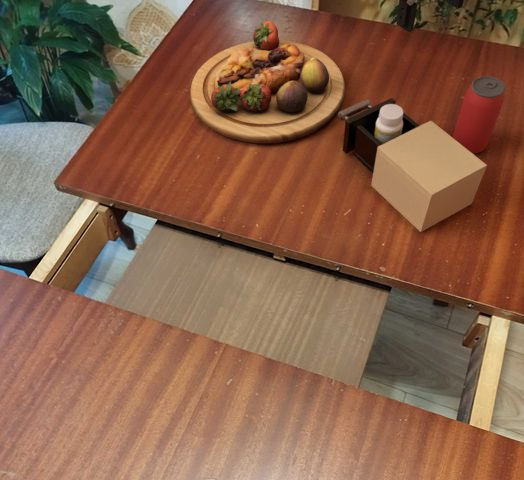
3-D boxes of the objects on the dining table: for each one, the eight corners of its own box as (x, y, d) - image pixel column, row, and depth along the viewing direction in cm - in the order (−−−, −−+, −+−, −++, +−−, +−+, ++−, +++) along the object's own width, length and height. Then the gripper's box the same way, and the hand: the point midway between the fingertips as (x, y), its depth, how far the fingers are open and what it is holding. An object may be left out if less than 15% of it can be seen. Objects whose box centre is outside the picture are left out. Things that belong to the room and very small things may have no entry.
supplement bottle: (379, 139, 102) (386, 98, 94) (402, 148, 100) (410, 107, 93) (366, 154, 100) (372, 114, 92) (389, 163, 98) (397, 123, 91)
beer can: (494, 146, 102) (517, 87, 92) (468, 160, 100) (488, 103, 90) (468, 127, 105) (488, 69, 94) (443, 141, 103) (460, 83, 93)
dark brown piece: (328, 137, 104) (330, 105, 98) (371, 116, 106) (375, 84, 101) (384, 189, 96) (390, 159, 91) (429, 166, 99) (438, 135, 93)
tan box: (371, 185, 98) (377, 146, 91) (420, 160, 101) (430, 120, 94) (420, 232, 92) (431, 194, 85) (471, 203, 95) (487, 165, 88)
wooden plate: (218, 41, 123) (214, 3, 116) (357, 58, 118) (362, 19, 110) (169, 133, 108) (160, 96, 101) (325, 157, 102) (328, 119, 95)
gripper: (423, -93, 64) (401, 48, 79) (529, -137, 68) (488, 6, 83) (382, -114, 68) (368, 26, 82) (485, -154, 72) (454, -14, 86)
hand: (429, 15), depth 83 cm, fingers open, 9 cm apart
